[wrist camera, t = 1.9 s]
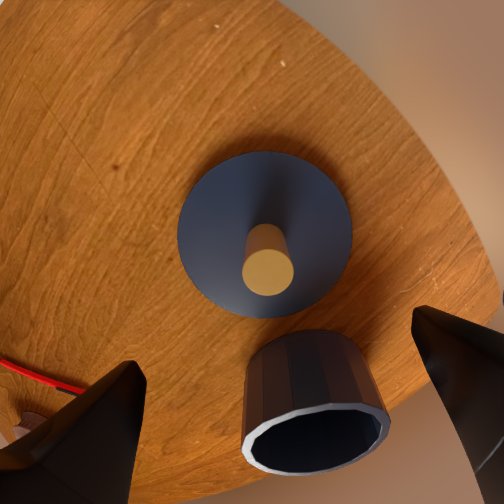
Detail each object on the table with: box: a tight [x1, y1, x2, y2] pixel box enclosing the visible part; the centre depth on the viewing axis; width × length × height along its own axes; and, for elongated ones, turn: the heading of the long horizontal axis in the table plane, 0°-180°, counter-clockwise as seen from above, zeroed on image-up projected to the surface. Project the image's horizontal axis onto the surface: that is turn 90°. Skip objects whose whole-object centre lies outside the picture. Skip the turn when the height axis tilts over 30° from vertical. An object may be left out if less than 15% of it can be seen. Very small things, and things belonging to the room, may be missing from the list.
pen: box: [0, 359, 85, 396], centre depth 24 cm, size 1×19×1 cm, turn 87°
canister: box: [241, 330, 391, 476], centre depth 19 cm, size 10×10×8 cm
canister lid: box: [177, 151, 352, 318], centre depth 16 cm, size 11×11×6 cm
